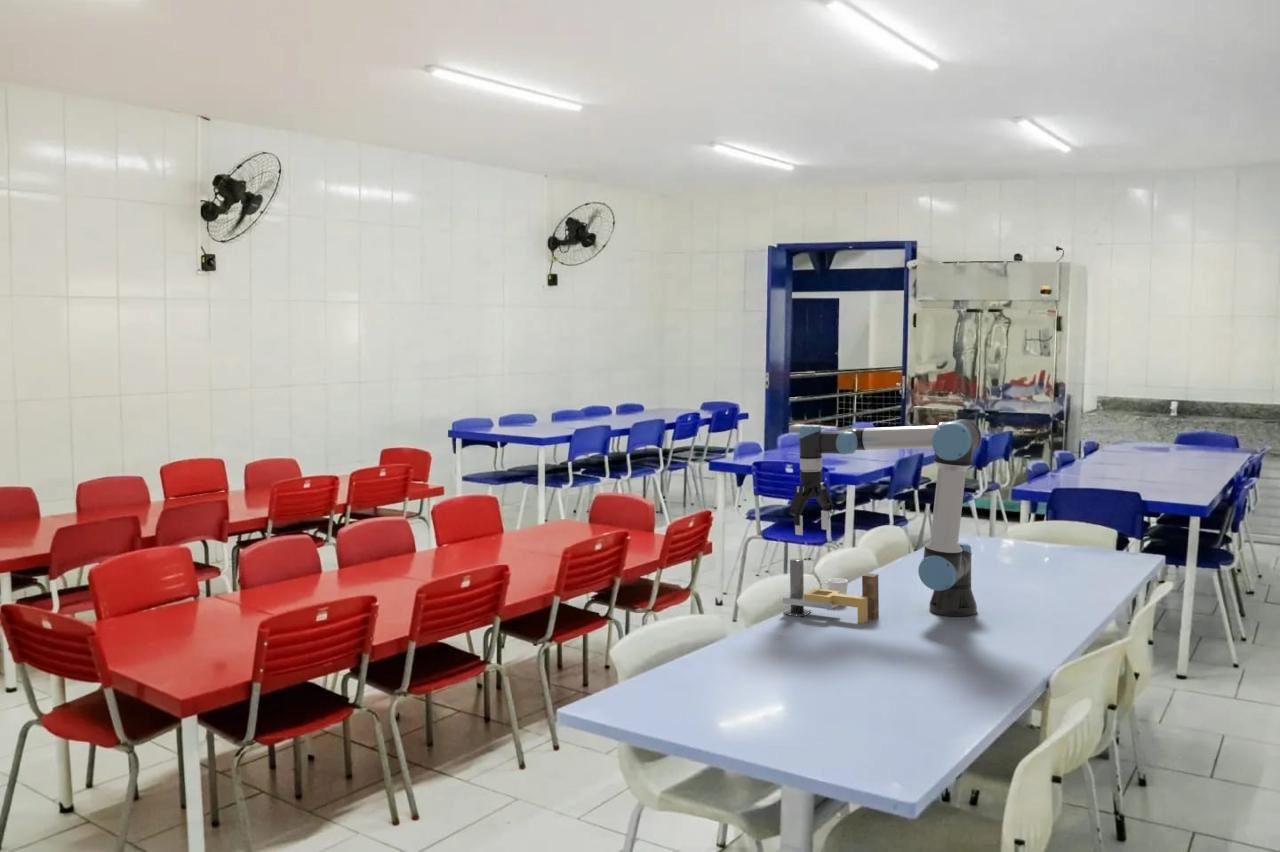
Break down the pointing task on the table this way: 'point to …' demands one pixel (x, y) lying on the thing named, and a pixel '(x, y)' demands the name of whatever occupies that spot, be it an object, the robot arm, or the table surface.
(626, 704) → the table surface
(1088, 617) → the table surface
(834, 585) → the cup
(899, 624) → the table surface
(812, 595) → the bracket
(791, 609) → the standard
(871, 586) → the pin
